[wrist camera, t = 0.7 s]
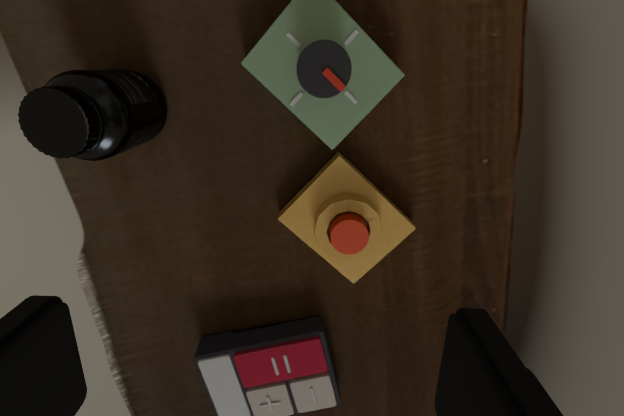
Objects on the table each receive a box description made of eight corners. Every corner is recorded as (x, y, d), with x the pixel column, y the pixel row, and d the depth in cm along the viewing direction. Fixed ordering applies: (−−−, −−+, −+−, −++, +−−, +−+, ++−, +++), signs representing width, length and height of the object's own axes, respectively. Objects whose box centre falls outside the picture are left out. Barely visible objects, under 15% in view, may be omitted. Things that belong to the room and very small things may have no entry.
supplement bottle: (90, 70, 36) (-13, 71, 25) (162, 68, 36) (91, 68, 25) (106, 142, 38) (18, 174, 27) (174, 141, 38) (114, 171, 27)
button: (322, 230, 37) (322, 238, 36) (348, 205, 36) (349, 212, 35) (348, 253, 38) (349, 261, 37) (374, 229, 37) (376, 236, 36)
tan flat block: (279, 212, 41) (275, 226, 37) (338, 151, 38) (340, 160, 35) (352, 274, 43) (355, 294, 39) (412, 221, 41) (421, 236, 37)
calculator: (342, 410, 45) (219, 434, 46) (338, 382, 49) (225, 404, 50) (323, 335, 42) (190, 362, 42) (321, 311, 46) (199, 336, 46)
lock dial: (290, 70, 33) (284, 71, 27) (322, 33, 32) (323, 26, 26) (323, 103, 34) (324, 110, 28) (356, 68, 33) (363, 68, 27)
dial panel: (246, 63, 36) (239, 63, 33) (312, -18, 33) (312, -26, 30) (331, 144, 38) (332, 150, 35) (398, 74, 36) (405, 75, 33)
